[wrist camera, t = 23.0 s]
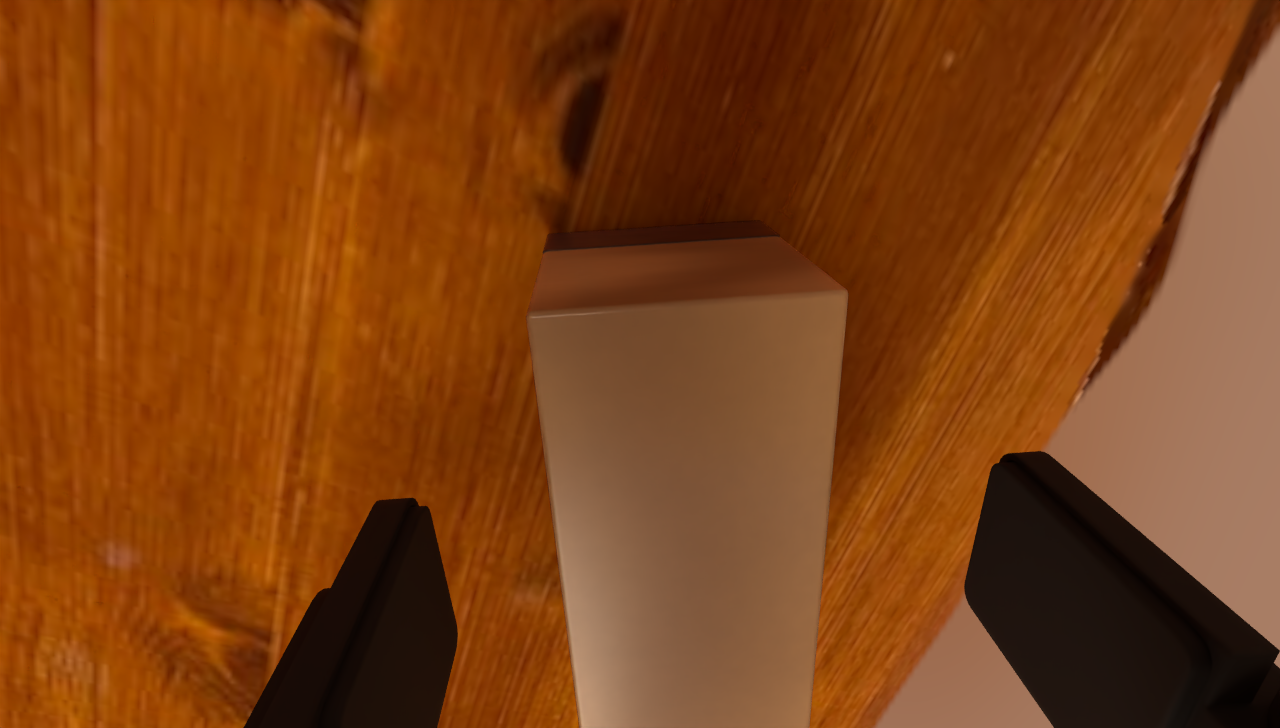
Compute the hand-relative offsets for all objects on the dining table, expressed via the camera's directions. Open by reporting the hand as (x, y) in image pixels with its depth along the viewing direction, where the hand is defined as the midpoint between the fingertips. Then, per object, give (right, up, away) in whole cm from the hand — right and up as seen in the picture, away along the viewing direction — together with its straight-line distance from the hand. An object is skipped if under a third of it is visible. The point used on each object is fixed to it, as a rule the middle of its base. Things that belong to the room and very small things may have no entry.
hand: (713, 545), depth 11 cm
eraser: (-1, +1, +5) cm, 5 cm away
